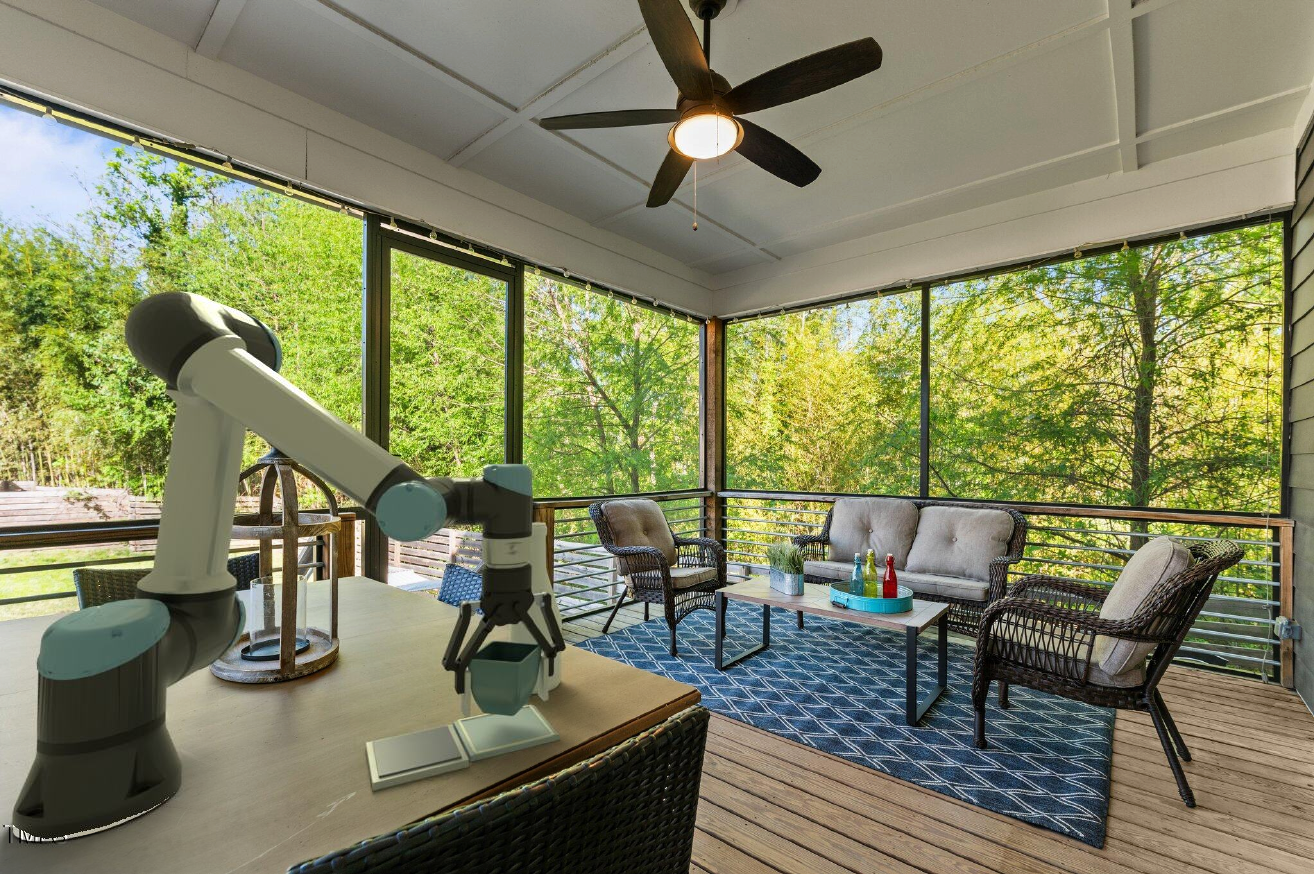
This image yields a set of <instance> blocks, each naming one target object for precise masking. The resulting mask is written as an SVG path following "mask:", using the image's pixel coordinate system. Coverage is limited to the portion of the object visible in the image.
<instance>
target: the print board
mask: <svg viewBox="0 0 1314 874" xmlns="http://www.w3.org/2000/svg"><path fill="white" fill-rule="evenodd" d="M452 726H453V728H454V730H455V732H456V734H457V736H458V738H459V740H460V742H461V744H462V746H463V748H464V750H465V753H466V755H467V757H468V759H469V763H472V762H475V761H480V760H485V759H488V758H492V757H495V756H500V755H503V754H508V753H512V752H517V751H520V750H524V749H528V748H531V747H532V748H533V747H535V746H541V745H545V744H549V743H552V742H556V741H559V740H560V739H559V733H558V732H557V731H556V729H554V727H553V726H552V725H551V724H550V722H549V721H548V720H547V719H546V718H545V717H544V716H543V714H542V712H540V711H539V709H538V708H537V707H536V705H534V704H527V705H526V704H525V705H524V706H523V707H522V708H521V709H520V710H519V711H518V712H517V714H516V715H514V716H505V715H496V714H485V713H483V714H478V715H475V716H470V717H467V718H465V717H464V718H461V719H457V720H455V721H453V724H452Z"/></svg>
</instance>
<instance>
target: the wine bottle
mask: <svg viewBox="0 0 1314 874" xmlns="http://www.w3.org/2000/svg"><path fill="white" fill-rule="evenodd" d="M547 535H548V526H547V524H546V522H537V521H536V522H532V559H531V560H530V561H529V562H528V563H530V565H531V566H532V587H531V590H532V593H533V594H536V593H540V592H541V591H546V592H548V593H549V594H551V597H552V610H553V613H554V615H555V618H556V621H557V624H558V626H559V629H560V632H561V634H562V633H563V632H562V631H563V630H562V627H563V625H562V624H563V623H562V622H563V621H562V615H561V612H560V609H559V605H558V602H557V600H556V597H555V594H554V590H553V587H552V584H551V581H550V577H549V574H548V569H547V554H546V553H547V550H546V549H547V545H546V544H547V542H546V541H547V540H546V539H547V538H546V537H547ZM527 613H528V614H529V615H530V617H531V618H532V620H533V621H534V623H535V624H536V626H537V627H538V629H539V630H540V631H541V633H542V634H543V635H544V637H545V638H546V640H547V641H548V642H549V644H552V643H553V642H552V639H551V636H550V634H549V631H548V628H547V626H546V623H545V620H544V617H543V615H542V612H541V609H540V607H539V606H538V605H537V604H536V602H535V601H534V602H533V604H532V606H531V607H530V609H529V610H528V612H527ZM508 626H509V633H508V635H509V636H508V637H509V638H508V639H509V640H508V642H519V643H534V644H538V643H537V642H536V641H535V639H534V638H533V636H532V635H531V634H530V632H529V631H528V630H527V628H526V627H525V625H524V624H523V623H522V622H521V621H520V622H518V624H514V625H513V624H509V625H508ZM541 654H544V652H543V650H542V652H541ZM561 679H562V651H560V652H558V653H557V656H556V657H555V658H554V674H553V676H551V677H548V692H550V691H552V690H555V688H557V687H558V686H559V685H560V682H561ZM531 695H538V678H537V682H536V685H535V687H534V689H533V692H532V694H531Z"/></svg>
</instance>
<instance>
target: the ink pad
mask: <svg viewBox="0 0 1314 874" xmlns="http://www.w3.org/2000/svg"><path fill="white" fill-rule="evenodd" d="M365 752H366V759H367V765H368V770H369V777H370V784H371V788H372V789H371V790H372V791H378V790H381V789H382V790H383V789H386V788H389V787H390V788H391V787H394V786H398V785H402V784H406V783H409V782H414V781H417V780H422V779H425V778H431V777H434V776H437V775H442V774H447V773H450V772H453V771H454V772H455V771H457V770H461V769H465V768H469V767H470V760H469V758H468V756H467V754H466V752H465V750H464V747H463V745H462V743H461V741H460V739H459V737H458V735H457V733H456V731H455V729H454V727H453V724H452V723H451V724H447V725H442V726H438V727H437V726H436V727H432V728H427V729H423V730H419V731H418V730H417V731H413V732H409V733H405V734H399V735H394V736H390V737H385V738H381V739H377V740H371V741H367V742H365Z"/></svg>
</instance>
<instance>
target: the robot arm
mask: <svg viewBox="0 0 1314 874" xmlns="http://www.w3.org/2000/svg"><path fill="white" fill-rule="evenodd" d="M124 338H125V343H126V345H127V348H128V350H129V352H130V354H131V355H132V356H133V358H135V360H136V361H137V362H138V363H139V364H140V365H141V366H142V367H143V368H145V369H146V370H147V371H148V372H150V373H151V374H152V375H154V376H156V377H157V378H159V379H160V380H162V381H163V382H165V383H166V385H165V391H164V392H165V393H166V394H167V395H168V397H169V398H171V400H173V401H174V403H175V405H176V408H175V417H174V424H173V430H172V431H173V432H172V437H171V443H170V451H169V457H168V465H167V470H166V471H167V472H166V478H165V479H166V480H165V485H164V491H163V500H162V505H161V506H162V507H161V513H160V517H159V518H160V519H159V527H158V534H157V538H156V539H157V540H156V548H155V555H154V560H153V566H152V567H153V568H152V571H150V573H148V574H146V576H144V577H142V578H141V579H140V580H138V582H137V584H136V589H135V596H134V598H133V599H123V600H115V601H110V602H106V603H104V604H102V605H97V606H94V605H93V606H90V607H85V608H82V609H80V610H77V611H74V612H72V613H69V614H67V615H65V616H63V617H61V618H59V619H57V620H56V621H55V622H53V623H52V624H50V625H49V626H48V628H47V627H46V629H45V631H44V632H43V634H42V636H41V640H40V647H39V653H38V657H37V660H36V670H37V671H38V672H37V711H36V713H37V714H36V716H37V718H36V723H37V724H36V755H35V758H34V760H33V763H32V765H31V768H30V769H29V772H28V774H27V777H26V778H25V782H24V783H23V786H22V788H21V790H20V793H19V795H18V797H17V800H16V801H15V804H14V806H13V810H12V814H11V815H12V819H11V820H12V821H11V825H12V824H13V825H14V826H15V827H16V828H18V829H20V830H22V831H25V832H26V833H29V834H30V835H32V836H35V837H40V838H43V839H44V838H45V839H49V838H56V837H57V838H58V837H63V836H65V835H70V834H74V833H78V832H81V831H82V832H83V831H87V830H91V829H95V828H100V827H103V826H107V825H110V824H112V823H114V822H118V821H120V820H122V819H126V818H127V817H131V816H133V815H137V814H138V813H142V812H143V811H147V810H149V809H151V808H153V807H154V806H156V805H158V804H160V803H162V802H163V801H164V800H165V799H167V798H168V797H170V796H171V795H172V794H173V793H174V792H175V793H177V791H178V790H179V789H180V787H181V784H182V781H183V780H182V777H183V776H182V775H183V774H182V773H183V772H182V771H183V769H182V767H183V766H182V760H181V758H180V756H179V753H178V752H177V749H176V747H175V744H174V741H173V739H172V738H171V734H170V732H169V730H168V728H167V723H166V722H167V720H166V718H167V713H166V712H167V689H168V688H170V687H172V686H174V685H175V684H177V683H178V682H180V681H182V680H183V679H186V678H187V677H189V676H190V675H192V674H194V673H196V672H198V671H200V670H203V669H205V668H208V667H209V666H210V665H211V666H212V665H213V664H214V663H216V662H217V661H218V660H219V659H221V658H222V657H223V656H224V655H226V653H228V652H229V651H230V650H232V648H234V647H235V645H236V644H237V642H238V641H239V640H240V638H241V637H242V634H243V632H244V629H245V626H246V622H247V610H246V606H245V604H244V601H243V600H241V599H240V598H239V594H238V593H237V592H236V591H237V585H238V582H237V581H238V580H237V578H236V577H235V576H234V575H232V573H230V572H229V571H228V568H227V567H228V561H229V560H228V559H229V555H230V547H231V541H232V533H233V527H234V526H233V525H234V519H235V518H234V517H235V512H236V507H237V506H236V504H237V497H238V492H239V491H238V490H239V483H240V476H241V471H242V461H243V455H244V447H245V440H246V433H247V432H246V431H247V430H249V431H251V432H253V433H254V434H256V435H257V436H258V437H259V438H261V439H263V440H264V441H265V442H267V443H268V444H270V445H272V447H275V448H276V449H277V450H279V451H280V452H281V453H283V454H284V455H286V456H287V457H288V458H291V459H292V460H293V461H294V462H296V463H298V464H299V465H300V466H301V467H303V468H305V469H307V471H308V472H310V473H312V474H313V475H315V476H316V477H318V478H319V479H321V480H322V481H323V482H325V483H326V484H328V485H329V486H331V487H332V488H333V489H335V490H337V491H338V492H340V493H341V494H342V495H344V496H345V497H347V498H348V499H350V500H351V501H353V502H354V503H355V504H357V505H358V506H360V507H362V509H364V510H365V511H366V512H369V514H371V515H373V516H374V517H376V519H375V520H376V521H377V524H378V527H379V528H380V530H381V531H382V532H383V533H384V535H385V536H387V538H388V537H389V538H390V540H391V539H392V540H393V541H396V542H399V543H400V542H401V543H412V542H417V541H423V540H426V539H428V538H430V537H432V536H433V535H435V533H438V532H439V531H440V530H442V529H445V528H446V527H454V526H455V527H458V526H459V527H460V526H463V527H464V526H472V527H474V526H475V527H477V526H481V528H482V532H481V533H482V534H481V535H482V536H481V537H482V538H481V539H482V541H481V542H482V544H481V545H482V547H481V550H482V551H481V562H482V563H484V565H483V566H482V567H481V595H480V597H479V599H478V600H471V601H469V600H468V601H467V600H466V599H462V600H461V601H460V602H459V612H458V613H459V615H458V619H457V621H456V624H455V626H454V629H453V632H452V634H451V637H450V639H449V641H448V644H447V647H446V648H445V649H446V650H445V652H444V654H443V657H442V660H441V665H442V666H443V668H444V670H445V671H446V672H450V671H451V672H454V689H455V692H456V694H457V695H461V699H460V700H461V703H460V705H461V707H460V710H461V713H462V715H463V717H464V718H469V717H471V702H472V701H471V694H472V692H471V672H470V671H468V665H469V664H470V662H471V661H472V659H473V658H474V656H475V654H476V653H477V651H478V650H480V649H481V648H482V647H481V646H482V645H483V644H484V642H485V640H486V639H487V637H488V636H489V635H490V633H491V632H492V631H493V630H494V628H495V627H504V626H507V625H510V624H513V625H514V624H518V622H520V621H521V622H522V623H523V624H524V625H525V627H526V628H527V630H528V631H529V632H530V634H531V635H532V636H533V638H534V639H535V641H536V642H537V643H538V644H539V645H540V646H541V648H542V650H543V652H544V654H541V659H540V667H539V674H538V694H537V695H538V696H539V698H541V701H543V702H545V701H549V691H548V677H551V676H553V674H554V658H555V657H556V656H557V653H558V652H560V651H561V652H564V651H565V650H566V649H567V647H566V643H565V640H564V638H563V635H562V634H561V632H560V629H559V626H558V624H557V621H556V618H555V615H554V613H553V610H552V597H551V594H549V593H548V592H546V591H541V592H540V593H536V594H533V593H532V590H531V587H532V566H531V565H530V563H528V562H529V561H530V560H531V559H532V523H533V503H534V502H533V501H534V500H533V499H534V492H533V476H532V475H533V474H532V472H533V471H532V469H531V468H530V467H529V466H528V465H527V464H523V463H520V464H519V463H503V464H502V463H499V464H498V463H490V464H489V463H488V464H485V465H484V466H483V469H482V473H481V475H480V476H472V477H469V476H467V477H466V476H459V477H458V476H430V475H424V476H422V475H421V474H419V473H418V472H417V471H415V470H414V469H412V468H411V467H410V466H408V465H406V464H405V463H404V462H403V461H401V460H400V459H399V458H397V457H396V456H395V455H393V454H391V453H390V452H388V451H387V450H385V448H383V447H381V446H380V445H379V444H377V443H376V442H374V441H373V440H372V439H370V438H368V436H366V435H364V433H362V432H360V431H359V430H357V429H356V428H354V427H353V426H352V425H351V424H349V423H347V422H346V421H345V420H343V419H341V418H340V417H339V416H337V415H336V414H335V413H333V412H332V411H331V410H330V409H327V408H326V407H325V406H324V405H323V404H320V403H319V402H318V401H317V400H315V399H313V398H312V397H311V396H309V395H308V394H307V393H305V392H303V390H301V389H300V388H298V387H297V386H295V385H294V384H292V383H291V382H290V381H288V380H287V379H285V378H284V377H283V376H281V375H280V374H279V373H280V371H281V368H282V365H283V350H282V346H281V343H280V341H279V338H278V337H277V336H276V334H275V332H273V330H272V329H271V328H270V327H269V326H268V325H266V324H265V323H264V322H262V321H260V320H259V319H257V317H255V316H253V315H252V314H249V313H247V312H245V311H242V310H239V309H235V308H233V307H230V306H227V305H224V304H223V303H219V302H218V301H217V302H216V301H213V300H212V299H209V298H208V297H205V296H202V295H199V294H196V293H193V292H186V291H179V290H177V291H176V290H175V291H174V290H173V291H164V292H159V293H156V294H153V295H149V296H148V297H146V298H144V299H142V300H141V301H139V302H138V303H137V304H135V306H134V307H133V308H132V309H131V311H130V312H129V314H128V316H127V318H126V321H125V326H124ZM534 601H535V602H536V604H537V605H538V606H539V607H540V609H541V612H542V615H543V617H544V620H545V623H546V626H547V628H548V631H549V634H550V636H551V639H552V642H553V643H552V644H549V642H548V641H547V640H546V638H545V637H544V635H543V634H542V633H541V631H540V630H539V629H538V627H537V626H536V624H535V623H534V621H533V620H532V618H531V617H530V615H529V614H528V613H527V612H528V610H529V609H530V607H531V606H532V604H533V602H534ZM479 609H480V610H481V612H482V613H483V616H482V617H481V619H480V620H479V622H478V626H477V627H476V629H475V630H474V632H473V633H472V634H471V637H470V638H469V639H468V641H467V643H466V644H465V645H464V647H463V649H462V651H461V652H460V650H461V647H462V644H463V642H464V639H465V637H466V635H467V632H468V629H469V626H470V625H471V624H470V623H471V620H472V617H473V616H475V615H476V612H477V610H479ZM459 653H460V654H459ZM179 786H180V787H179ZM178 788H179V789H178ZM177 789H178V790H177ZM176 790H177V791H176ZM172 796H173V795H172ZM172 796H171V797H172ZM171 797H170V798H171ZM162 804H163V803H162Z"/></svg>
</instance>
